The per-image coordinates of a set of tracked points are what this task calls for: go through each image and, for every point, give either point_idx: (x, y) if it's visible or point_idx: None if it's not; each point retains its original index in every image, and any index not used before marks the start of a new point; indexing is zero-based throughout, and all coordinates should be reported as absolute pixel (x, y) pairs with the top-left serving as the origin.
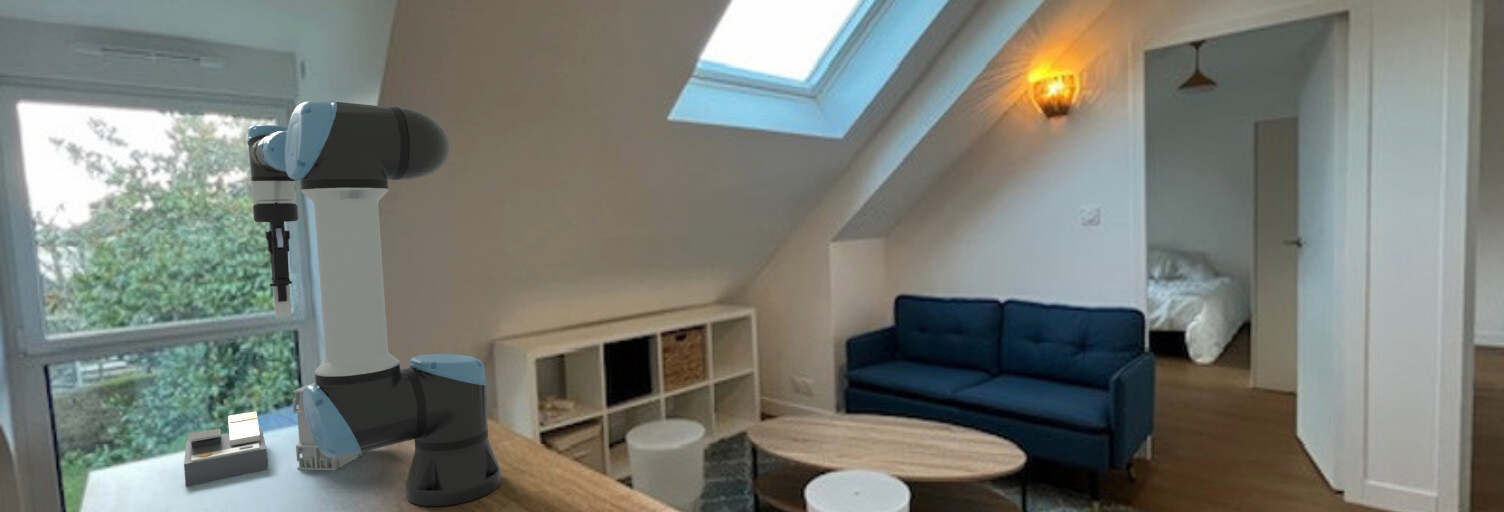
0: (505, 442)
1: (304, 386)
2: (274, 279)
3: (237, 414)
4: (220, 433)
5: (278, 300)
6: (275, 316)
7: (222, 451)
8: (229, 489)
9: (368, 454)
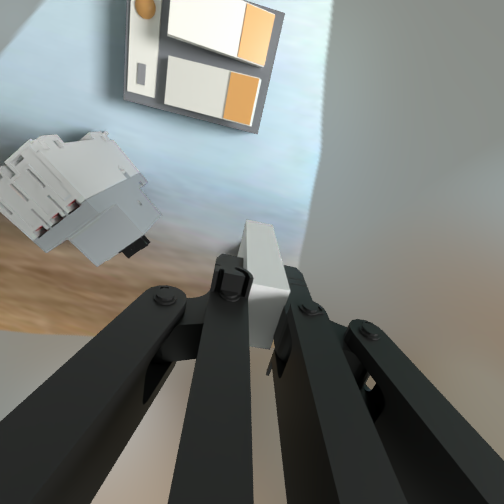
0: (43, 321)
1: (55, 168)
2: (158, 302)
3: (255, 94)
4: (249, 63)
5: (234, 258)
6: (249, 221)
7: (148, 37)
8: (79, 30)
9: None
